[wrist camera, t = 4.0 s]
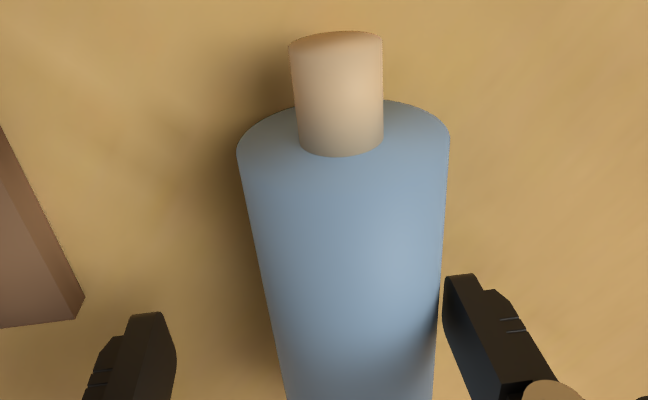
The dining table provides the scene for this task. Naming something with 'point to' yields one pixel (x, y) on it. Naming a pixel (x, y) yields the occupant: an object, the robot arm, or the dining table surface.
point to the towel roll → (348, 226)
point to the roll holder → (30, 255)
